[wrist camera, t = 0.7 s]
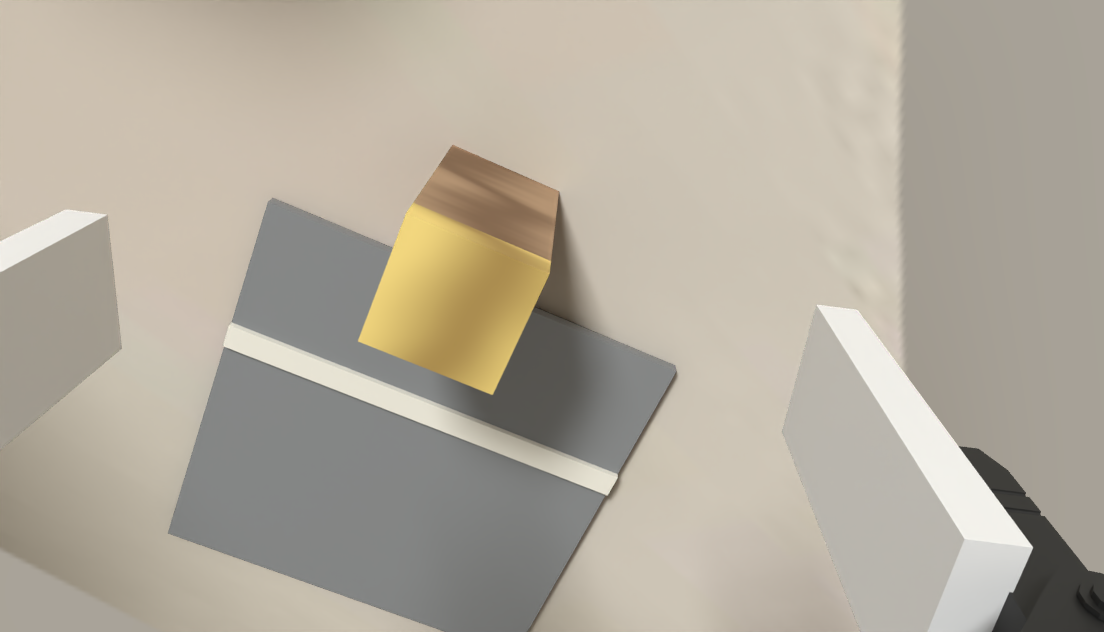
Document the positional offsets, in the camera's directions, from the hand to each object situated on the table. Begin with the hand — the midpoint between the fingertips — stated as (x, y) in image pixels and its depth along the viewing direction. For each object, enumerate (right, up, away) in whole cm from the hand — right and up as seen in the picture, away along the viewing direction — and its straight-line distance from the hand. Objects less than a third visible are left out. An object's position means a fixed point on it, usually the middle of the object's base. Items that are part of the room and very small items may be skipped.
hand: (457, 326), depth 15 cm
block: (-1, +4, +21) cm, 22 cm away
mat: (-6, -7, +26) cm, 28 cm away
